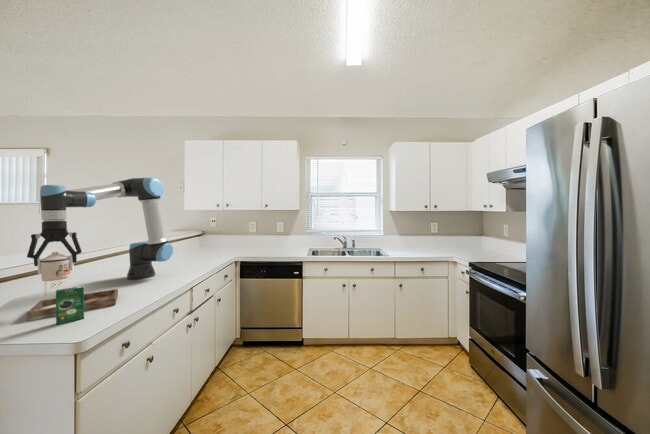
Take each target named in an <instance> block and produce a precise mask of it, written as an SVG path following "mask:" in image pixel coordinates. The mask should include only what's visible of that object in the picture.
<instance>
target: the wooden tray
mask: <svg viewBox="0 0 650 434" xmlns="http://www.w3.org/2000/svg"><path fill="white" fill-rule="evenodd" d="M118 290H119V289H118V288H115V289H108V290H101V291H94V292H89V293H84V312H85V311H92V310H97V309H102V308H103V309H104V308H108V307H113V306H116V303H117V301H118V296H119V292H118ZM26 315H27V321H28V322H29V321H35V320H41V319H47V318H52V317H56V297H54V298H49V299H41V300H40V301H38V302H37V303H36V304H34V306H33V307H32V308H30V309H29V310H28V311H27V314H26Z"/></svg>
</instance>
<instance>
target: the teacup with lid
mask: <svg viewBox="0 0 650 434" xmlns="http://www.w3.org/2000/svg"><path fill="white" fill-rule="evenodd" d="M40 262H41V274H40V276H41V281H42V282H52V281H53V282H54V281H60V280H65V279H68V278H70V277H71V271H70V255H65V254H62V253H59V252H58V251H53V252H51V254H49V255H47V256H46V257H42V259H41V260H40Z"/></svg>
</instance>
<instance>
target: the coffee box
mask: <svg viewBox="0 0 650 434" xmlns="http://www.w3.org/2000/svg"><path fill="white" fill-rule="evenodd" d="M84 294H85V288H84V286H83V285H81V286H74V287H73V286H72V287H67V288H60V289H56V290H55V298H56V316H55V321H56V322H55V323H56V325H60V324H61V325H62V324H65V323H69V322H74V321H79V320H82V319H84V320H85V311H84Z"/></svg>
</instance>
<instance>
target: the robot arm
mask: <svg viewBox="0 0 650 434" xmlns="http://www.w3.org/2000/svg"><path fill="white" fill-rule="evenodd" d="M39 191H40V193H39V197H40V210H41V211H40V214H41V215H40V217H41V221H42V222H41V232H40V233H33V234H31V235H30V237H31V241H30V245H29V248H28V252H27V256H26V257H27V258H28V259H33V266H34V267H37V273H38V275H41V262H40V260H41V259H43V257H41V255H42V254H43V252H44V251H45V250H46V247H47V246H48V244H49V243H54V242H56V243H57V242H58V243H59V242H61V244H63V246H64V247H65V248H66V249H67V251H68V252H69V254H70V255H69V257H70V259H69V260H70V272H71V271H74V270H75V264H74V263H77V261H78V260H77V259H78V258H77V255H80V254H82V252H83V250H82V248H81V246H80V243H79V240H78V237H77V235H78V233H77V232H76V231H74V232H73V231H72V232H71V231H68V225H67V223H68V222H67V208H92V207H93V206H95V205H96V202H97V201H101V200H106V199H110V198H126V197H127V198H128V197H130V198H133V197H134V198H135V197H136V198H137V199H138V201H139V202H140V203H141V204H142V212H143V215H144V220H145V228H146V234H147V240H146V241H140V242H133V243H130V245H129V249H128V251H129V252H128V253H129V269H128V271H127V274H126V278H127V280H142V279H143V280H144V279H148V278H152V277H154V276H155V275H156V271H155V268H154V266H153V264H152V263H153V262H159V263H160V262H167V261H168V260H170V258H171V257H172V256H173V254H174V247H173V245H172V244H171V243H169V242H168V241H169V240H168V239H167V238H166V237H165V234H164V233H165V232H164V228H163V227H164V226H163V222H162V216H161V211H160V210H161V209H160V204H159V202H160V200H161V198H162V197H161V196H162V195H163V194H164V191H165V189H164V186H163V183H162V181H160V180H159V179H157V178H156V177H137V178H135V177H133V178H127V179H124V180H118V181H113V182H112V183H110V184H103V185H97V186H88V187H83V188H74V189H68V190H67V189H66V186H64V185H59V184H58V185H57V184H43V185H41V186H40V190H39ZM67 236H69V237H71V239H72V242H73V245H74V248H75V249H74V248H73V247H72V245H71V244H70V243H69V242H68V240H67ZM41 237H42V238H43V239H44V241H43V242H42V244H41V245H40V247H39V248H38V250H37V251H36V247H37V244H38V240H39V239H40V238H41ZM35 251H36V253H35Z"/></svg>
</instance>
